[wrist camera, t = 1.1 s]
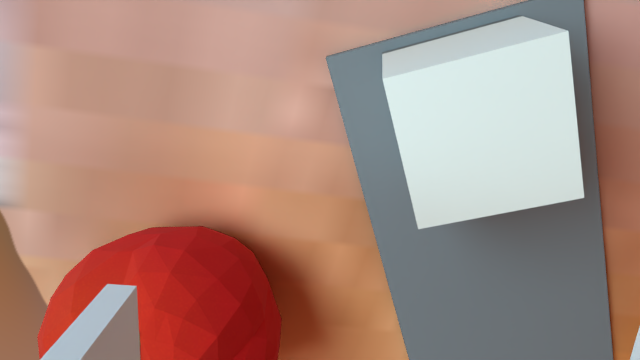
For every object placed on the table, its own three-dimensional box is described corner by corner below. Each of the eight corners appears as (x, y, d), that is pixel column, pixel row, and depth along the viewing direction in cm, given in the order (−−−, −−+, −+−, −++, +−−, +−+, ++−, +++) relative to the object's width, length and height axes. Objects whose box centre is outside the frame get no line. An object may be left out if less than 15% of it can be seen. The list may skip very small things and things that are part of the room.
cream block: (519, 15, 24) (568, 30, 18) (535, 143, 27) (584, 197, 20) (382, 52, 26) (382, 79, 19) (410, 170, 28) (418, 229, 22)
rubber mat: (577, -14, 24) (582, -13, 23) (613, 401, 34) (617, 408, 33) (327, 56, 27) (325, 58, 26) (427, 420, 37) (427, 427, 36)
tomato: (266, 366, 36) (219, 527, 26) (97, 305, 36) (-20, 444, 25) (321, 236, 31) (290, 370, 21) (125, 163, 31) (-7, 263, 20)
